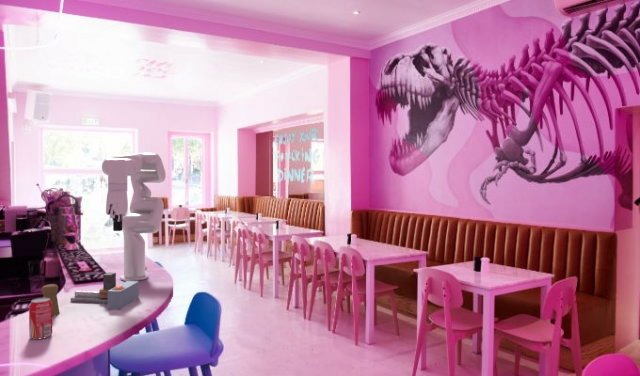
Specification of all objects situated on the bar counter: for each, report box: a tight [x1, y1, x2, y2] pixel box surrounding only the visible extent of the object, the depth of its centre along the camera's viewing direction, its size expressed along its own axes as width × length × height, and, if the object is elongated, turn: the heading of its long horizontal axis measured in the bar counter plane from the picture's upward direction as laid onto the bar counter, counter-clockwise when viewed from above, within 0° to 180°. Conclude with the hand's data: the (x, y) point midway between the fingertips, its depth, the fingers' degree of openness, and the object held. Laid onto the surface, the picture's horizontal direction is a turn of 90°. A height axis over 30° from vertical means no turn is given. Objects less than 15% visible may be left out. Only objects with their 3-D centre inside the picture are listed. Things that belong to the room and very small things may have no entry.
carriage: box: [98, 272, 117, 298], centre depth 178 cm, size 4×6×9 cm
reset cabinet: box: [107, 280, 140, 310], centre depth 176 cm, size 15×5×7 cm, turn 176°
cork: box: [41, 283, 60, 318], centre depth 161 cm, size 6×6×11 cm
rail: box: [70, 290, 108, 304], centre depth 179 cm, size 6×19×4 cm, turn 86°
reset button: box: [114, 285, 123, 290], centre depth 172 cm, size 3×3×6 cm
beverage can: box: [28, 297, 53, 340], centre depth 140 cm, size 6×6×12 cm
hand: (117, 230), depth 188 cm, fingers closed
